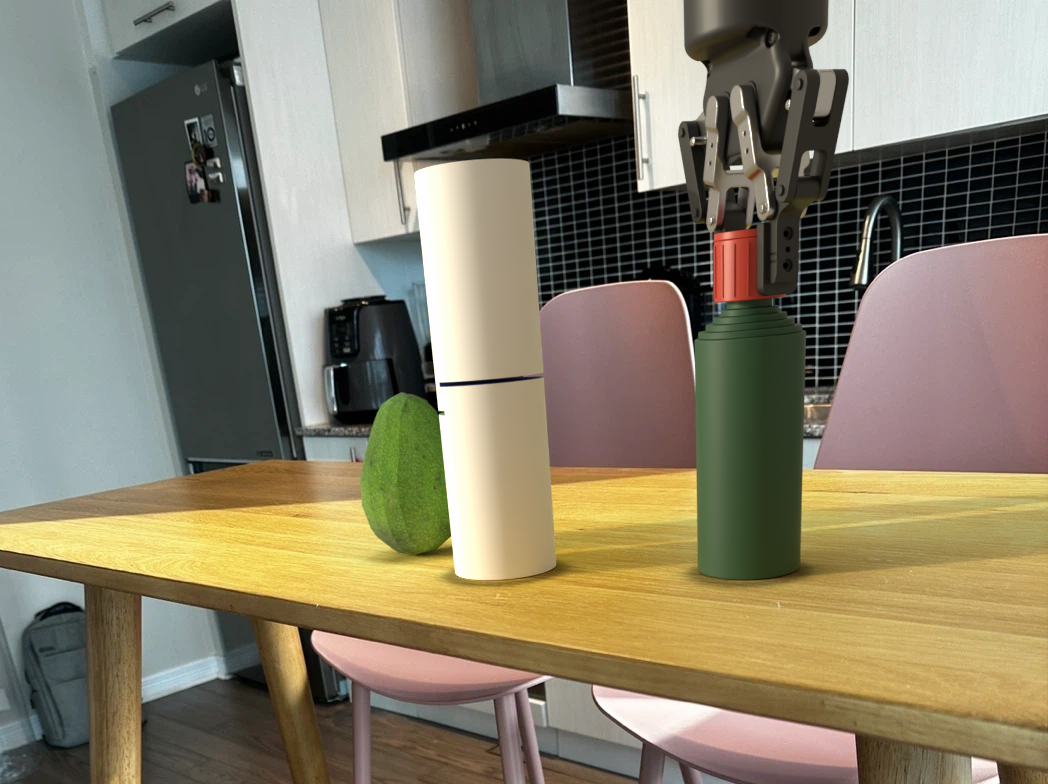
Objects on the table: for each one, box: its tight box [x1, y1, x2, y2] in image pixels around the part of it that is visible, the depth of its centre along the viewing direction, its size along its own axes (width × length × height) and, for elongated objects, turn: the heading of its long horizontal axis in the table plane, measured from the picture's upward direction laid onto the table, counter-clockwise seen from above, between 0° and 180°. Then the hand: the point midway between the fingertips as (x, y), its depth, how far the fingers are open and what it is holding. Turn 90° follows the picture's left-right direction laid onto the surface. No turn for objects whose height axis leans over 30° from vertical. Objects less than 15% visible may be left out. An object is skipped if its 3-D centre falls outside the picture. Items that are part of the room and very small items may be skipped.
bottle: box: [694, 298, 807, 581], centre depth 62 cm, size 6×6×19 cm
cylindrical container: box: [413, 158, 557, 581], centre depth 68 cm, size 7×7×25 cm
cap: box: [712, 228, 787, 304], centre depth 59 cm, size 4×4×4 cm
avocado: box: [359, 391, 452, 556], centre depth 78 cm, size 8×8×12 cm
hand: (754, 295), depth 60 cm, fingers closed on cap, 4 cm apart
